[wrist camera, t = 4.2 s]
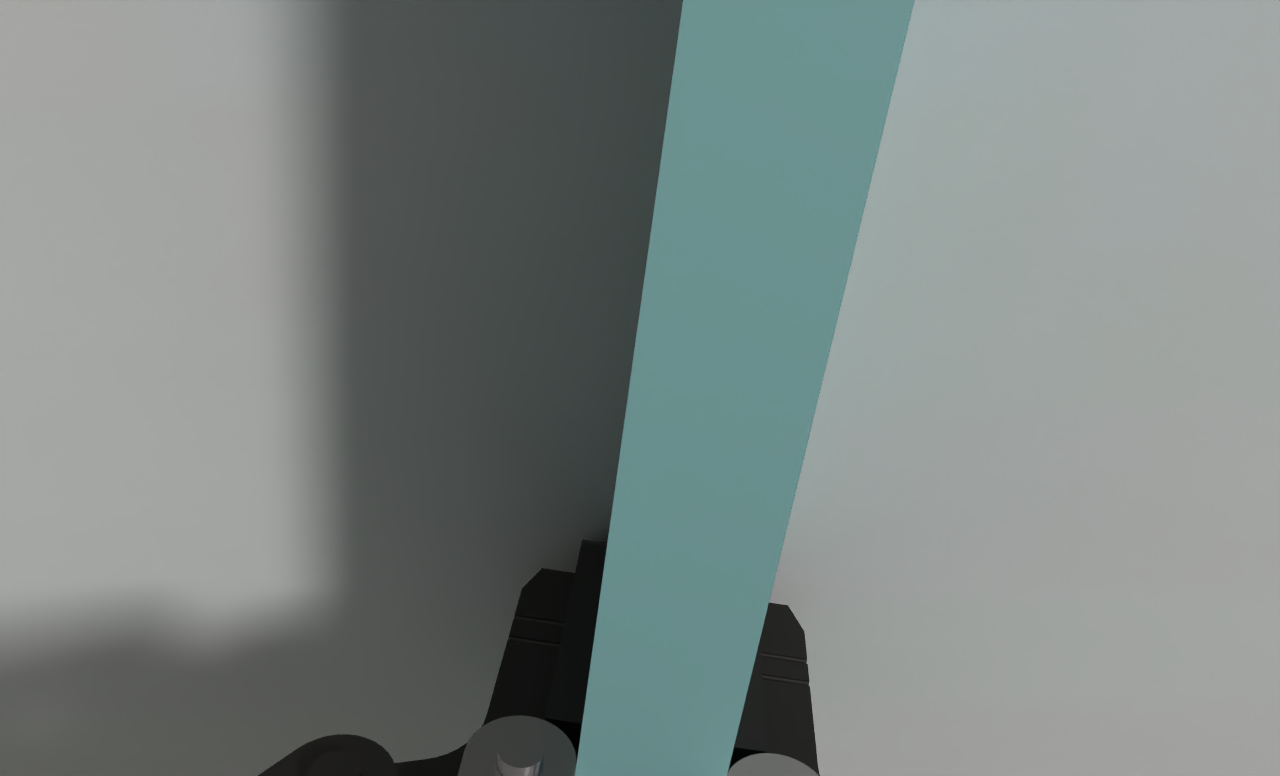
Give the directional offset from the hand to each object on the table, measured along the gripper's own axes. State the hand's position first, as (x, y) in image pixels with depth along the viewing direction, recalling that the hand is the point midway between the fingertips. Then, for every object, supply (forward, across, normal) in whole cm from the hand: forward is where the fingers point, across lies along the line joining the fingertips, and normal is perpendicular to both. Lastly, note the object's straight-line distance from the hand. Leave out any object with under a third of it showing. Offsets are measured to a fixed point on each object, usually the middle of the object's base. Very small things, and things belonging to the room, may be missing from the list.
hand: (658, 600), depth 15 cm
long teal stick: (0, 0, -9) cm, 9 cm away
